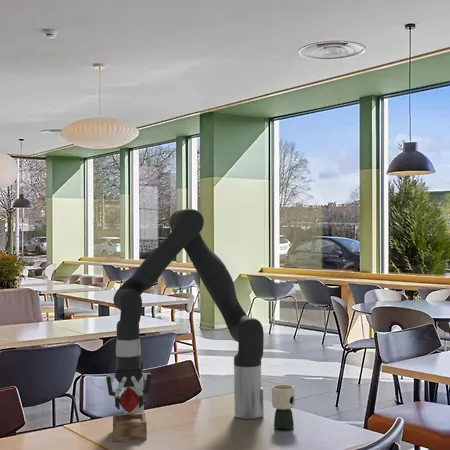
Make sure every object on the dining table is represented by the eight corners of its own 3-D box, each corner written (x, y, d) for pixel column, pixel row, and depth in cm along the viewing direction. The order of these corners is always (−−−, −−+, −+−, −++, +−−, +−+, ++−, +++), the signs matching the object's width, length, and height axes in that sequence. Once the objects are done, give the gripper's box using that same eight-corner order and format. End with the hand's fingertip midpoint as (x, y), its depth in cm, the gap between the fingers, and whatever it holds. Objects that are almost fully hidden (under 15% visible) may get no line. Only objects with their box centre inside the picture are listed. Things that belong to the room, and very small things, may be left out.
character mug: (293, 434, 198) (292, 391, 198) (270, 433, 199) (269, 390, 199) (296, 423, 208) (295, 383, 208) (274, 422, 210) (273, 382, 210)
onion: (140, 409, 202) (140, 384, 202) (136, 415, 196) (136, 388, 196) (122, 409, 203) (122, 384, 203) (117, 415, 197) (117, 388, 197)
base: (145, 429, 205) (144, 412, 205) (146, 439, 195) (146, 421, 195) (113, 431, 203) (112, 415, 203) (113, 441, 193) (112, 424, 194)
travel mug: (134, 427, 207) (133, 365, 207) (120, 424, 211) (119, 363, 211) (148, 423, 212) (147, 361, 212) (134, 419, 216) (133, 359, 216)
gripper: (151, 350, 204) (151, 403, 204) (104, 352, 202) (105, 406, 202) (152, 354, 197) (153, 409, 197) (104, 356, 195) (105, 412, 194)
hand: (129, 407), depth 199 cm, fingers closed on onion, 6 cm apart
